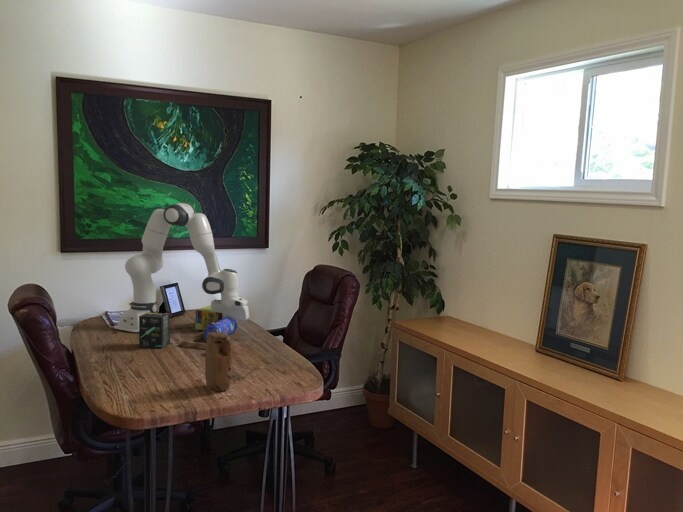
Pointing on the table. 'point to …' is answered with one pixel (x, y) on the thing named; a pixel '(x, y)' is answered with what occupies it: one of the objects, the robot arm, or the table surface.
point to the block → (218, 361)
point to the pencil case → (221, 327)
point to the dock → (192, 344)
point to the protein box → (206, 317)
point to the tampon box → (154, 330)
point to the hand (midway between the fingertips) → (229, 327)
